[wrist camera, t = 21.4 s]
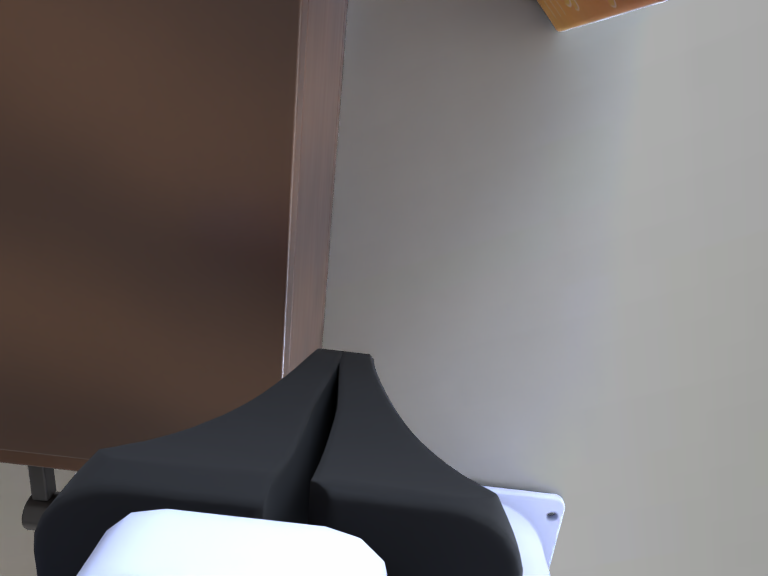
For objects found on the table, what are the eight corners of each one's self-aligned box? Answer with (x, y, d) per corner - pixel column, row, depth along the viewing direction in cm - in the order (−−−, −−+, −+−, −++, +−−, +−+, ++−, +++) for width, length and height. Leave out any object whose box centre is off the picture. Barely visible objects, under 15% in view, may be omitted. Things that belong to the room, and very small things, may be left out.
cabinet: (322, 348, 25) (277, 482, 16) (8, 312, 25) (-195, 428, 16) (349, -19, 20) (307, -92, 12) (-40, -62, 20) (-361, -166, 12)
